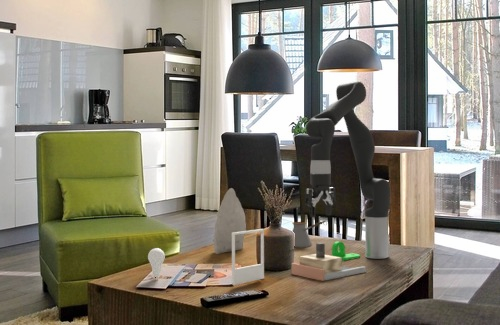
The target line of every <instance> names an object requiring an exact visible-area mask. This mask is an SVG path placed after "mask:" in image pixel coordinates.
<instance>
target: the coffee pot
mask: <svg viewBox="0 0 500 325" xmlns="http://www.w3.org/2000/svg"><path fill="white" fill-rule="evenodd" d="M325 223H326V224H325ZM327 224H328V223H327V221H326V220H322V221H319V222H316V223H314V224H312V225H310V226H308V227H306V225H307V222H306V221H294V222H292V225H293V229H292V231H293V232H294V233H295V247H294V248H308V247H311V246H312V245H313V243H312V241H311V238H310V236H309V234H308V230H309V229H312V228H315V227H319V226H320V225H323V226H327Z"/></svg>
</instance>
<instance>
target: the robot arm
mask: <svg viewBox="0 0 500 325" xmlns="http://www.w3.org/2000/svg"><path fill="white" fill-rule="evenodd" d="M335 92H336V93H335V94H336V100H335V101H334V102H332V103H331V104H329V106H327V107H326V108H325V109H324V110H323V111H322V112H321V113H319V114H316V115H315V116H313V117H311V118H310V119H309V120H308V122H307V123H306V126H305V132H306V134H307V136H308V137H310V138H311V139H312V138H314V139H315V138H316V139H319V138H321V141H320V142H319V143H316V144H315V143H314V144H313V145H312V146H311V148H310V157H311V158H310V175H309V176H310V177H309V178H310V182H309V183H310V185H311V188H305V190H304V206H308V208H309V209H308V212H309V217H310V218H315V217H316V205H317V203H318V202H319V201H323V202H324V203H325V215H326V216H332V210H333V209H332V208H333V204H336V203H337V195H336V192H337V190H336V187H333V186H331V184H332V181H331V180H332V179H331V178H332V176H331V174H332V173H331V171H332V169H331V168H332V167H331V147H332V144H333V139H334V136H335V131H336V125H338V123H339V122H340V121H341V120H342V119H344V122H345V125H346V129H347V133H348V136H349V142H350V145H351V148H352V152H353V155H354V160H355V164H356V167H357V172H358V173H357V174H358V180H359V185H360V186H359V187H360V191H361V194H362V195H363V197H364V198H365V199H366V200H369V201H373V202H372V205H371V206H370V207H369V208H367V209H366V210H365V213H364V214H365V217H364V218H365V219H364V220H365V229H364V230H365V236H364V237H365V240H364V241H365V251H364V252H365V255H364V257H366V258H368V259H387V258H388V257H390V234H389V233H388V232H389V230H388V229H389V228H388V224H389V222H388V220H389V216H388V213H389V211H390V206H391V205H390V202H391V188H390V183H389V182H388V180H386V179H385V178H376V177H375V176H374V172H373V166H372V162H373V159H374V154H375V151H376V148H375V142H374V137H373V135H372V134H373V133H372V132H371V130H370V129H369V127H368V126H367V125H366V124H365V123H364V122H363V121H361V119H360V118H359V117H358V116H357V114H356V113H355V111H354V109H355V108H357V106H359V105H361V104H362V103H363V102H364V101H365V100H366V98H367V89H366V87H365V84H364V83H363V82H362V81H351V82H347V83H341V84H339V85H337V87H336V90H335ZM330 186H331V187H330Z"/></svg>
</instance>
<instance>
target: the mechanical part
mask: <svg viewBox="0 0 500 325" xmlns="http://www.w3.org/2000/svg"><path fill="white" fill-rule="evenodd" d="M331 256H335V257H341V258H342V262H344V260H345V261H349V259H350V260H353V259H354V258H355V259H359V258H360V256H361V255H360V254H359V253H353V252H352V253H346V245H345V244H344V242H342V241H338V240H337V241H335V242H334V243H332V246H331Z"/></svg>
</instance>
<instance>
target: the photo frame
mask: <svg viewBox="0 0 500 325" xmlns="http://www.w3.org/2000/svg"><path fill="white" fill-rule="evenodd" d="M264 230H265V229H264V228H258V229H250V230H246V231H242V232H234V233H232V251H231V285H233V286H235V285H240V284H243V283H244V284H245V283H249V282H254V281H258V280H263V279H265V241H264V240H265V235H264V234H265V231H264ZM259 232H260V263H259V264H252V265H247V266H242V267H237V268H236V250H235V235H238V234H245V235H246V234H251V233H252V234H253V233H259Z"/></svg>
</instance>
